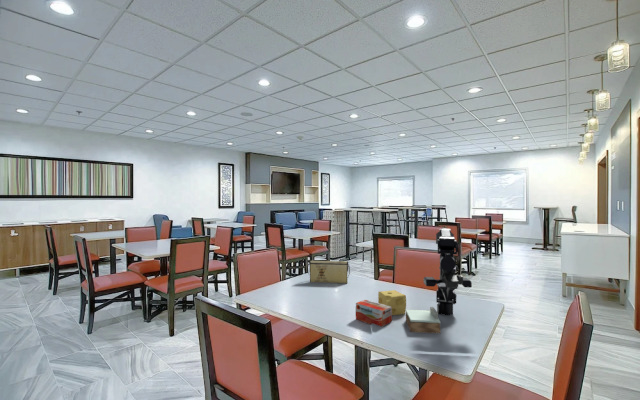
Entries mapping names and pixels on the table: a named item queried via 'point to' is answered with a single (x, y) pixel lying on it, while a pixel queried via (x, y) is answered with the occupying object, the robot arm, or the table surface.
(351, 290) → the table surface
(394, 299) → the cheese
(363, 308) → the medicine box
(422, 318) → the lid
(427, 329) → the walnut box
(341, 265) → the clutch purse
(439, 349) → the table surface
